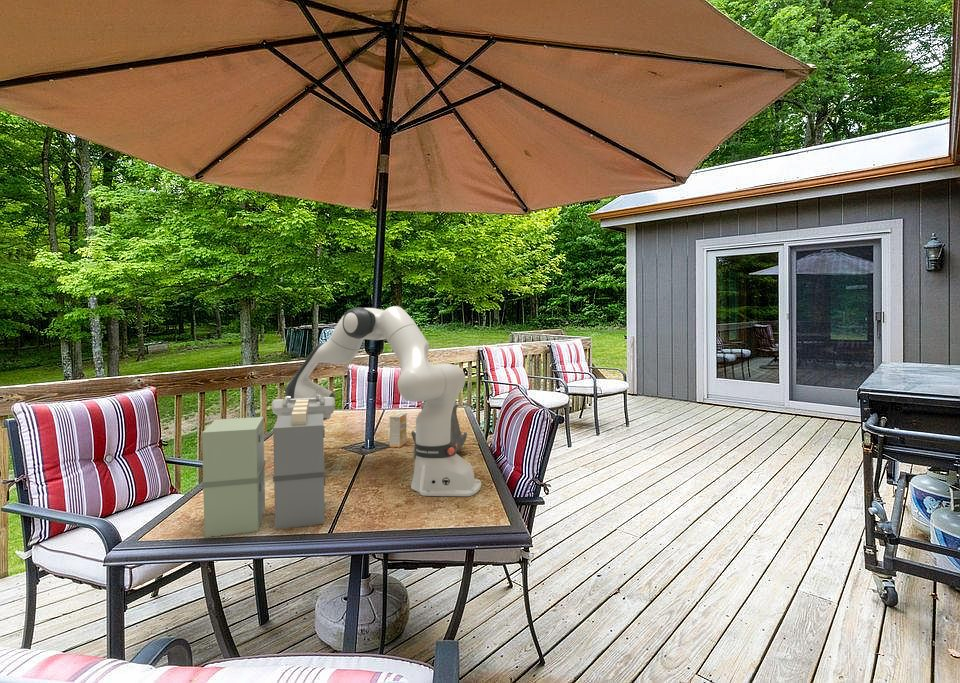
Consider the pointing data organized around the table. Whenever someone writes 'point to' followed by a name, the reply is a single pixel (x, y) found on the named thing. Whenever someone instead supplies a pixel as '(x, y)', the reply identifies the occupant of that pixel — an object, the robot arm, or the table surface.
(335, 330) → the robot arm
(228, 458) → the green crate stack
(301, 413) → the wooden bar
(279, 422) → the grey crate stack
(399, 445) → the supplement box
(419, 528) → the table surface
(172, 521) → the table surface
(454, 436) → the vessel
